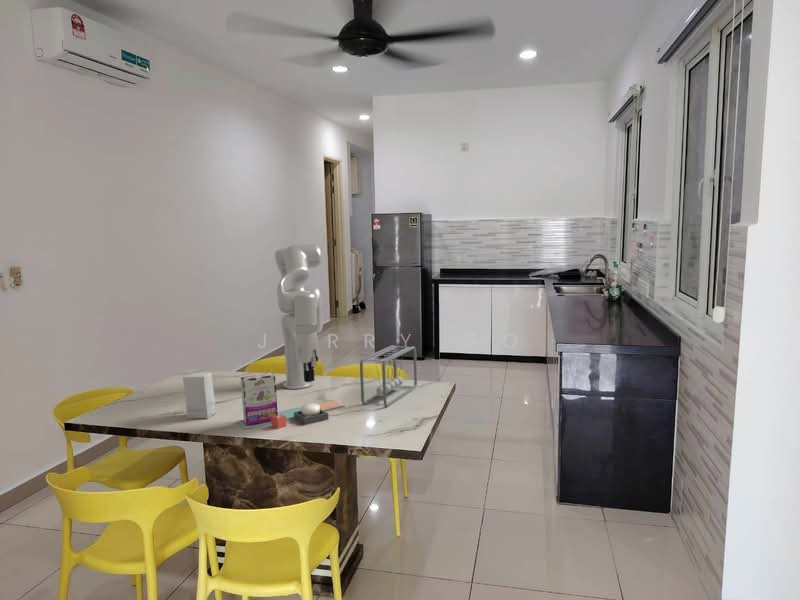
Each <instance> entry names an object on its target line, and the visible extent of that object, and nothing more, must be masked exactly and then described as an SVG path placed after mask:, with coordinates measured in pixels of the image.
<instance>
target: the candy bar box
mask: <svg viewBox="0 0 800 600" xmlns="http://www.w3.org/2000/svg"><path fill="white" fill-rule="evenodd" d="M276 385H277V384H276V375H275V374H274V373H273V372H267V373H260V374H259V373H258V374H253V375H248V376H247V375H246V376H242V377H240V387H241V399H242V411H243V420H244V421H243V423H244V425H245V426H246V427H251V426H255V425H259V424H264V423H268V422H271V417H272V416H275V415H278V412H279V410H278V399H277V397H278V396H277V386H276Z"/></svg>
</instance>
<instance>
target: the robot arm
mask: <svg viewBox="0 0 800 600" xmlns="http://www.w3.org/2000/svg"><path fill="white" fill-rule="evenodd" d="M274 258H275V264H276V266H277V268H278V271H279V273H280V275H281V279H280V280H279V282H278V284H277V288H276V295H277V296H276V298H277V305H278V309H279V311H280V312H282V313H284V315H282V317H281V319H280V320H281V321H280V325H281V326H280V327H281V329H282V330H281V331H282V335H283V341H284V342H283V344H284V345H283V346H284V358H285V376H286V380H285V381H284V382H283V384H282V386H283V388H285V389H289V390H299V389H300V390H301V389H307V388H309V387H311V386H312V385H313V384H314V381H315V367H317V365H318V363H317V362H319V361H320V351H319V350H320V349H319V339H318V335H317V334H319V333H321V332H322V331H323V327H324V321H323V320H324V318H323V299H322V294H321V290H320V288H319V287H318V286H315V285H313V286H304V283H306V282H307V281H308V280H309V278H310V275H311V274H310V273H311V272H310V269H311V268H317V267H319V266H320V265H321V264H322V263H323V253H322V249H321V248H320V246H318V245H317V244H315V243H313V244H294V245H293V244H292V245H289V246H287V247H282V248H279V249H277V250H276V251H275V253H274Z"/></svg>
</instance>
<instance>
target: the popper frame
mask: <svg viewBox="0 0 800 600" xmlns="http://www.w3.org/2000/svg"><path fill="white" fill-rule="evenodd" d="M294 419H295V420H297V421H298V422H300V423H301V424H303V425H304V426H306V425H311V424H315V423H319V422H322V421H327V420H329V413H328V411H323V410H321V409H320V413H319V414H318V415H314V416H304V415H302V411H297V412H294Z"/></svg>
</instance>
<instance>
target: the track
mask: <svg viewBox="0 0 800 600" xmlns="http://www.w3.org/2000/svg"><path fill="white" fill-rule="evenodd" d="M329 401H330V400H328V401H325V402H329ZM331 401H335V400H332V399H331ZM325 402H324V401H323V402H322V403H325ZM320 403H321V402H318V403H317V404H320ZM301 407H302V406H300V407H296V408H292V409H287V410H282V411H278V414H281V415H284V416H286V421H290V420H293V419H294V412H297V411H301ZM345 407H346V405H344V406H342V407H337V408H333V409H328V410H324V411H325V412H329V411H334V410H337V409H342V408H345ZM235 423H236V424H238V425H239V426H241V427H242V428H243V429H244V430H250V429H254V428H260V427H264V426H267V425H272V424H271V422H266V423H261V424H255V425H250V426H247V425H246V424H245V423H244V419H239V420H236V422H235ZM243 423H244V424H243Z"/></svg>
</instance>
